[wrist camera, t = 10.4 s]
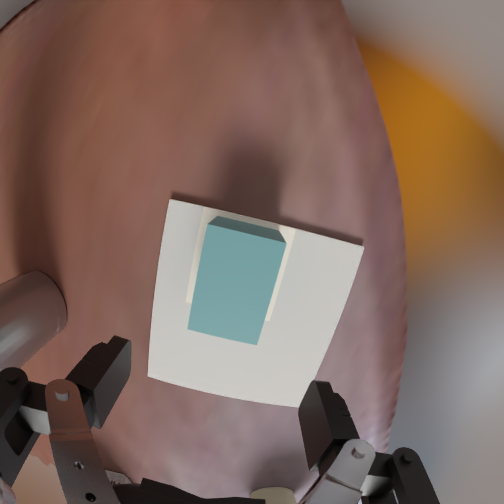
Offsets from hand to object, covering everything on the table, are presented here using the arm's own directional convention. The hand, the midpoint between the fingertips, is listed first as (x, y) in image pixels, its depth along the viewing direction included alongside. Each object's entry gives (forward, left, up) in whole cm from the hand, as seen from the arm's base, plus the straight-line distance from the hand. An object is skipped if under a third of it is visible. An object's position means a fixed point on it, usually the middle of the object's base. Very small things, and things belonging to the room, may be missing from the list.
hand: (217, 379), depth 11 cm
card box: (0, 0, -17) cm, 17 cm away
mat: (+2, -6, -18) cm, 19 cm away
